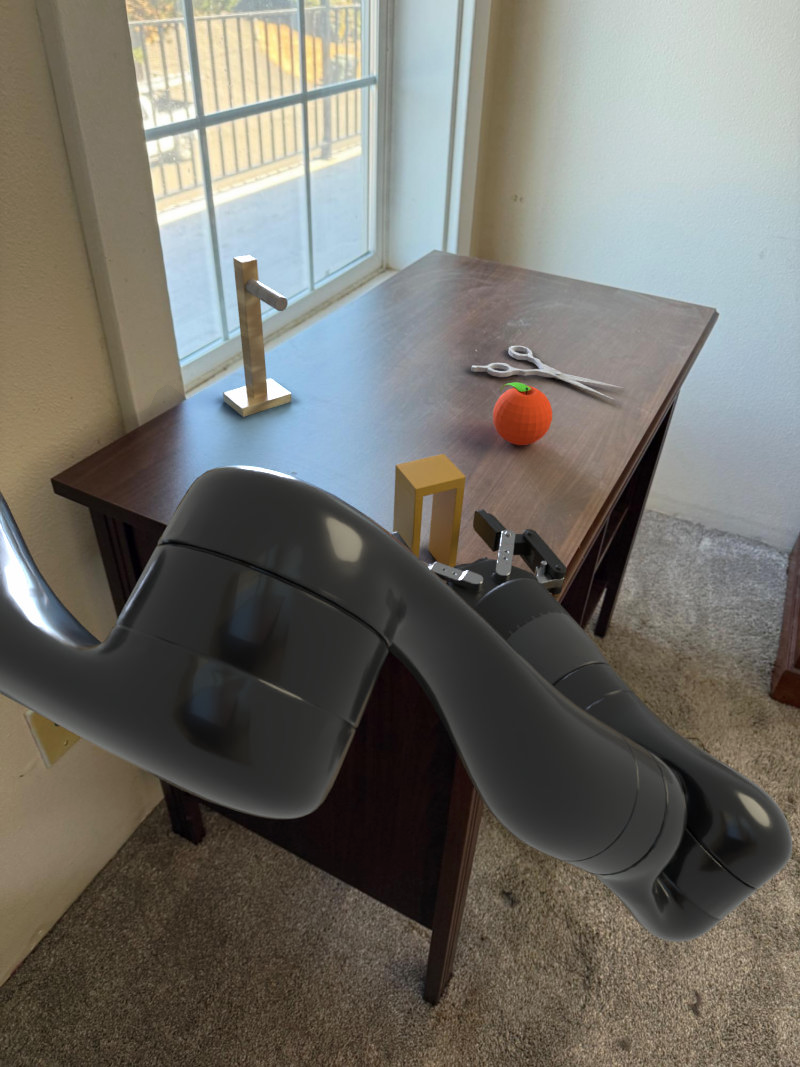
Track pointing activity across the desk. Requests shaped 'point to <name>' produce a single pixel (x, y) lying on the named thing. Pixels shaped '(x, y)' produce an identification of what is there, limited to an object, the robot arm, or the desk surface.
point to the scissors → (534, 370)
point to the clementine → (522, 414)
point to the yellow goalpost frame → (446, 506)
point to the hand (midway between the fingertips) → (435, 528)
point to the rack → (254, 342)
